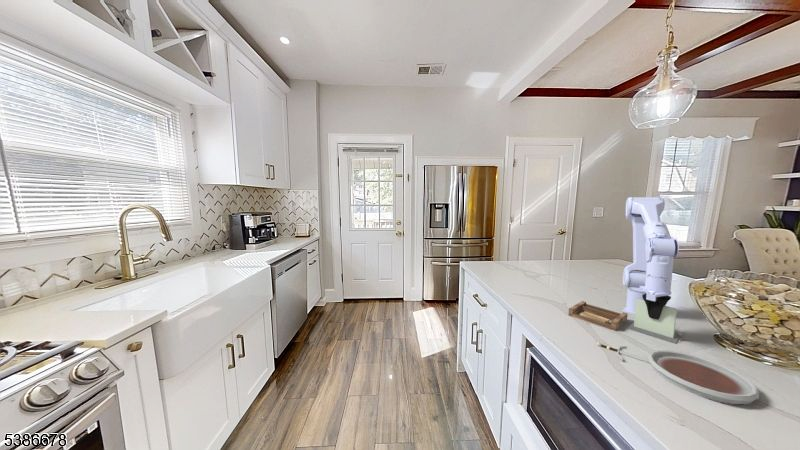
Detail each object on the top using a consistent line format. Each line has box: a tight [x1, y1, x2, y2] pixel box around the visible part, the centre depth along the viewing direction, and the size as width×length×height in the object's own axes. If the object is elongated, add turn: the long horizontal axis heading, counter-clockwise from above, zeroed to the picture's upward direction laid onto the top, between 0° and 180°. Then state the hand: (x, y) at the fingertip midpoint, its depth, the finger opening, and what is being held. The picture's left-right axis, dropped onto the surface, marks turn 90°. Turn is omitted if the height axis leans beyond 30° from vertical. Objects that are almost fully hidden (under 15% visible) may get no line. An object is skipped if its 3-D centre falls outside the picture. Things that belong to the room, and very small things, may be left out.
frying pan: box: [595, 341, 760, 406], centre depth 64 cm, size 17×3×28 cm
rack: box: [568, 300, 628, 332], centre depth 90 cm, size 12×14×3 cm
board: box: [633, 299, 678, 338], centre depth 80 cm, size 2×9×9 cm, turn 34°
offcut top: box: [579, 312, 611, 324], centre depth 89 cm, size 4×8×1 cm, turn 29°
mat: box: [626, 321, 682, 345], centre depth 81 cm, size 8×11×1 cm
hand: (654, 317), depth 80 cm, fingers closed on board
